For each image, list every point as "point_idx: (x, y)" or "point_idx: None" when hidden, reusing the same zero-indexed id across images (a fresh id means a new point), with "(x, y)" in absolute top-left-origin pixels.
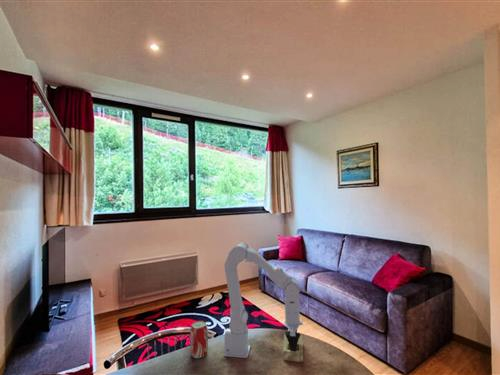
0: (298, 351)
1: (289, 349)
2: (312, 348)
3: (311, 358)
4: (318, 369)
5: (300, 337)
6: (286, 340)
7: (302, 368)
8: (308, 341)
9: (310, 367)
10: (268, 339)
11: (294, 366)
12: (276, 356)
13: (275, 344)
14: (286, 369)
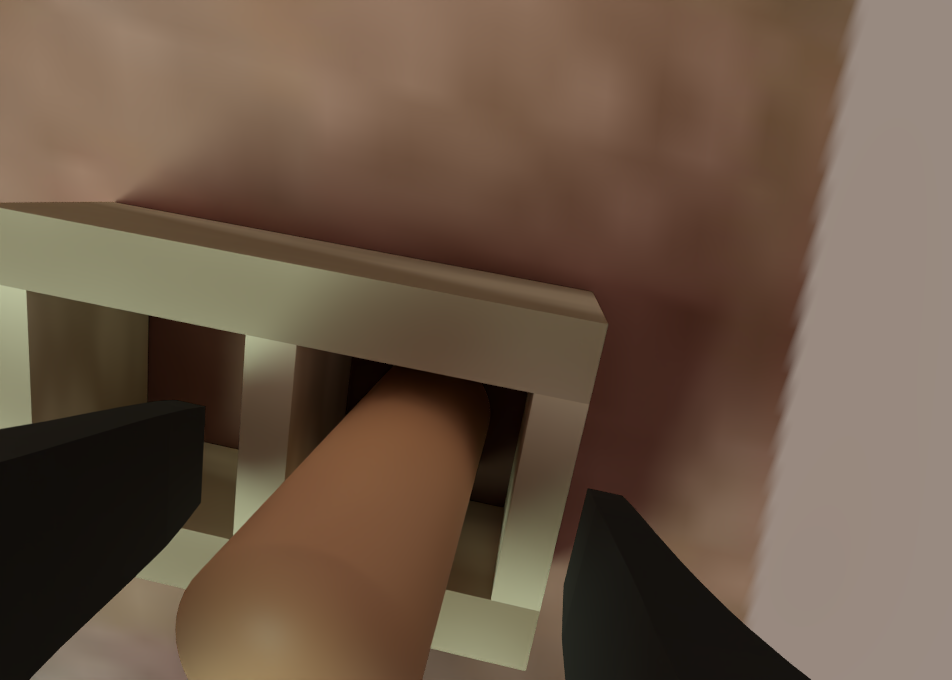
0: (562, 411)
1: None
2: (221, 34)
3: (506, 125)
4: (817, 69)
5: (49, 249)
6: (189, 549)
7: (747, 341)
8: (21, 62)
9: (742, 203)
10: (67, 659)
11: (683, 448)
12: None
13: (170, 596)
14: (734, 568)
